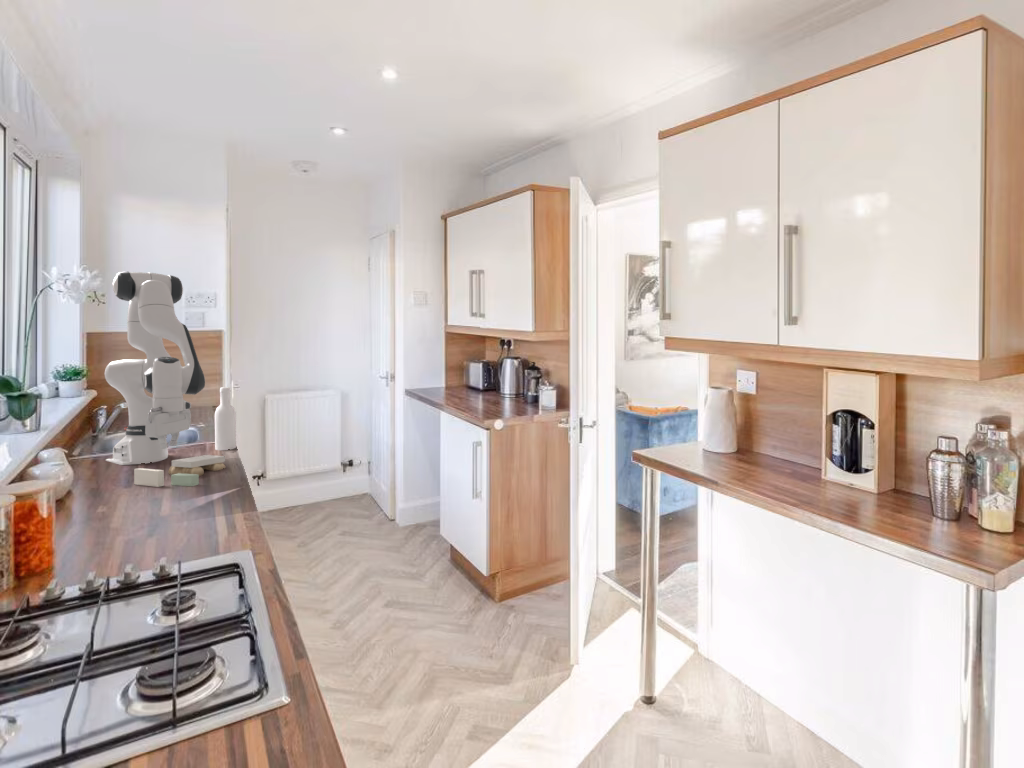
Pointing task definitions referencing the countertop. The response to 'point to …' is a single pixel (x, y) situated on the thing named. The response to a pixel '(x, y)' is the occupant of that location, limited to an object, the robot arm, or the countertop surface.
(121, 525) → the countertop surface
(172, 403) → the robot arm
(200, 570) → the countertop surface
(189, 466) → the stone slab
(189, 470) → the rail
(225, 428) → the bottle
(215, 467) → the rail
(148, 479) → the block
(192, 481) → the block
